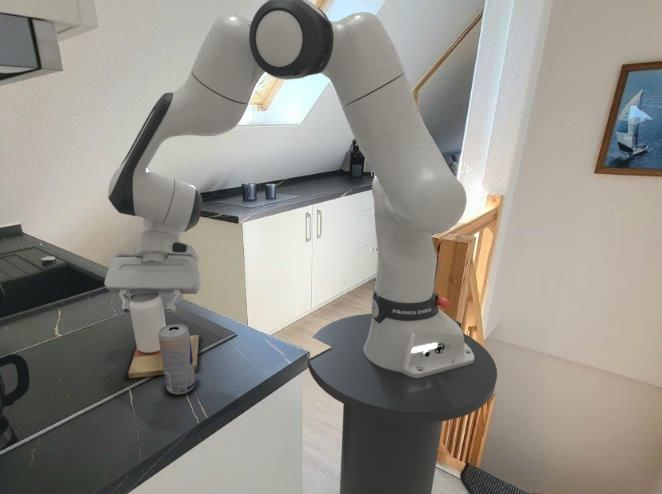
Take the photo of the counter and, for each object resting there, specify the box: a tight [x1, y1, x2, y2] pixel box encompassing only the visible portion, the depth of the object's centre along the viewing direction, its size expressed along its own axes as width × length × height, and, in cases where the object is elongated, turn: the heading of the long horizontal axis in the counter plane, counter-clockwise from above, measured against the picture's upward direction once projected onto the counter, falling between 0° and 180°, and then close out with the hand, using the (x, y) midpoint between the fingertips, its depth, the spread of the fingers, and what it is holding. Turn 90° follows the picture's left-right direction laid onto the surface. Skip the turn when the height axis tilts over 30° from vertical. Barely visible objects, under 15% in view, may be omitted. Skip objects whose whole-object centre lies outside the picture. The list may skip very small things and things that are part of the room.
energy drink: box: [158, 323, 197, 396], centre depth 74 cm, size 5×5×12 cm
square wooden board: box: [127, 334, 200, 379], centre depth 85 cm, size 13×13×1 cm
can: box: [129, 290, 167, 353], centre depth 85 cm, size 6×6×12 cm
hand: (148, 311), depth 84 cm, fingers open, 8 cm apart
